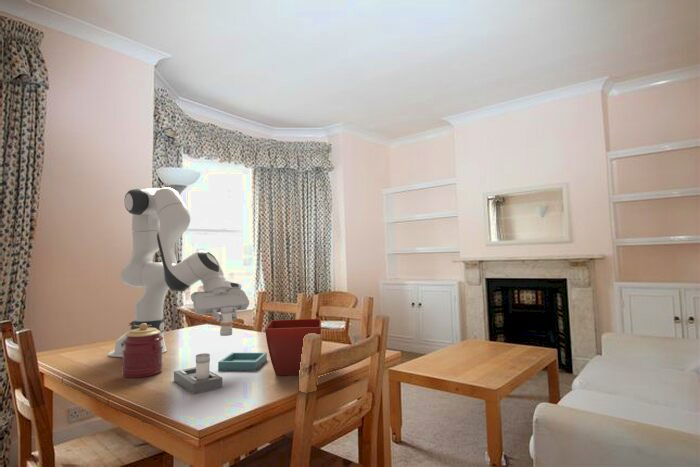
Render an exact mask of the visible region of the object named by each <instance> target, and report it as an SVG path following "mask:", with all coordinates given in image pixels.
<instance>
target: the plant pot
mask: <svg viewBox="0 0 700 467" xmlns="http://www.w3.org/2000/svg"><path fill="white" fill-rule="evenodd" d="M264 332H265V338H266V344H267V350H268V354H269V357H270V363H271V365H272V368H273V371H274V374H275V375H276V376H291V375H292V376H294V375H295V376H296V375H299V370H300V362H301V354H302V347H303V338H304V336H305V335H306V334H308V333H316V334H321V333H322V319H321V318H301V319H298V318H297V319H295V318H294V319H275V320H274V319H273V320H270V322H268V324H267V325H266V326H265V327H264ZM321 335H322V334H321Z"/></svg>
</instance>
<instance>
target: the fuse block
mask: <svg viewBox="0 0 700 467" xmlns="http://www.w3.org/2000/svg"><path fill="white" fill-rule="evenodd" d="M173 381H174V382H176V383H177V384H178V385H180V386H181V387H183V388H184V389H185V390H187V392H189V393H191V394H192V395H195V394H200V393H204V392H209V391H213V390H216V389H217V390H218V389H221V388H223V377H222V376H220V375H218V374H217V373H214V372H212V371H211V370H209V379H205V380H200V381H197V379H196V366H195V367H190V368H183V369H179V370H174V371H173Z"/></svg>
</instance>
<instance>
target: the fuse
mask: <svg viewBox="0 0 700 467" xmlns="http://www.w3.org/2000/svg"><path fill="white" fill-rule="evenodd" d="M210 361H211V354H210V353H208V352H207V353H199V354H196V355H195V367H196V379H197V381H200V380H205V379H209V371H210Z"/></svg>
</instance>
